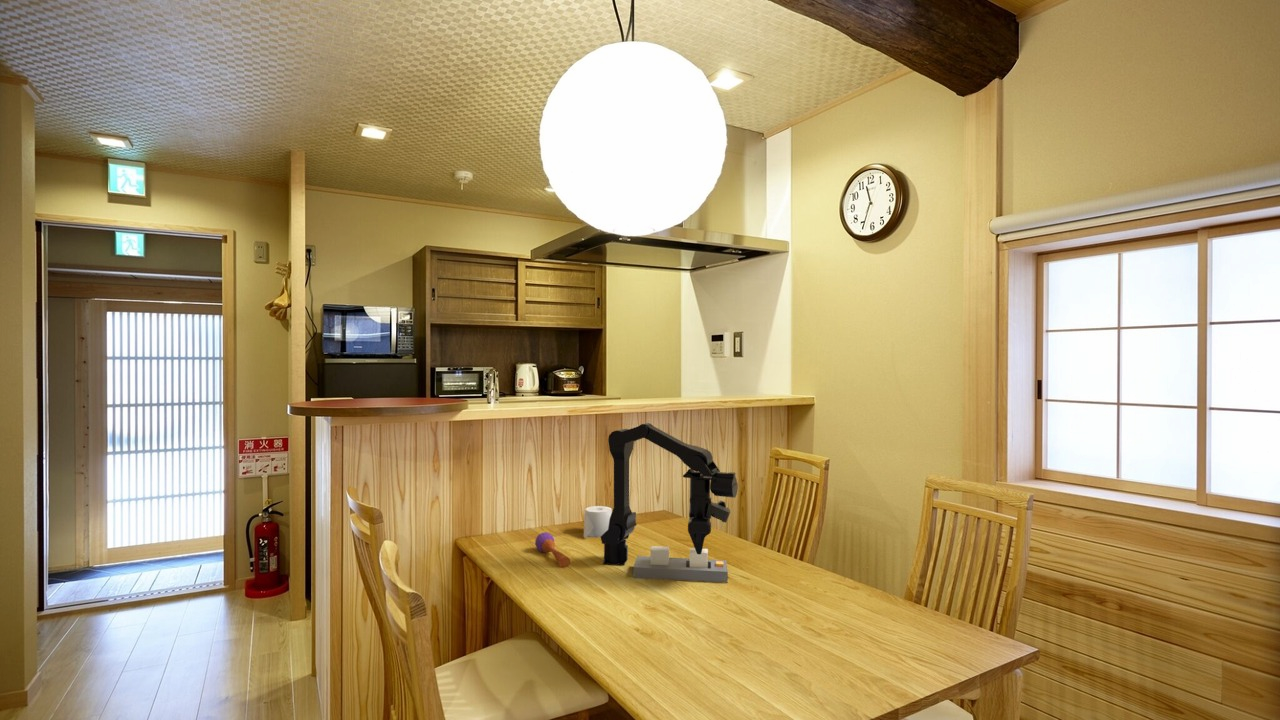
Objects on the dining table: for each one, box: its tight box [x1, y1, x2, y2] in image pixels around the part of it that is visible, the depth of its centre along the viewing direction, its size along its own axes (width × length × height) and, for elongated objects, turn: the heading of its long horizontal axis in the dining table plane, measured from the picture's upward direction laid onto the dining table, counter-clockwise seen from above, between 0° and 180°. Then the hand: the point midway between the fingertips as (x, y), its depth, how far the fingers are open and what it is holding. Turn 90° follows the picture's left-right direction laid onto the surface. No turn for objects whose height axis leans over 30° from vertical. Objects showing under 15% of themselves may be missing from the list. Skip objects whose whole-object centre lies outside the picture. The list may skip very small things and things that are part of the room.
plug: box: [689, 547, 709, 568], centre depth 176 cm, size 5×4×7 cm
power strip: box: [632, 545, 729, 584], centre depth 177 cm, size 26×10×7 cm, turn 84°
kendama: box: [534, 532, 571, 568], centre depth 190 cm, size 6×6×20 cm
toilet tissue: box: [583, 505, 613, 540], centre depth 215 cm, size 9×13×9 cm
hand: (699, 549), depth 176 cm, fingers open, 9 cm apart
